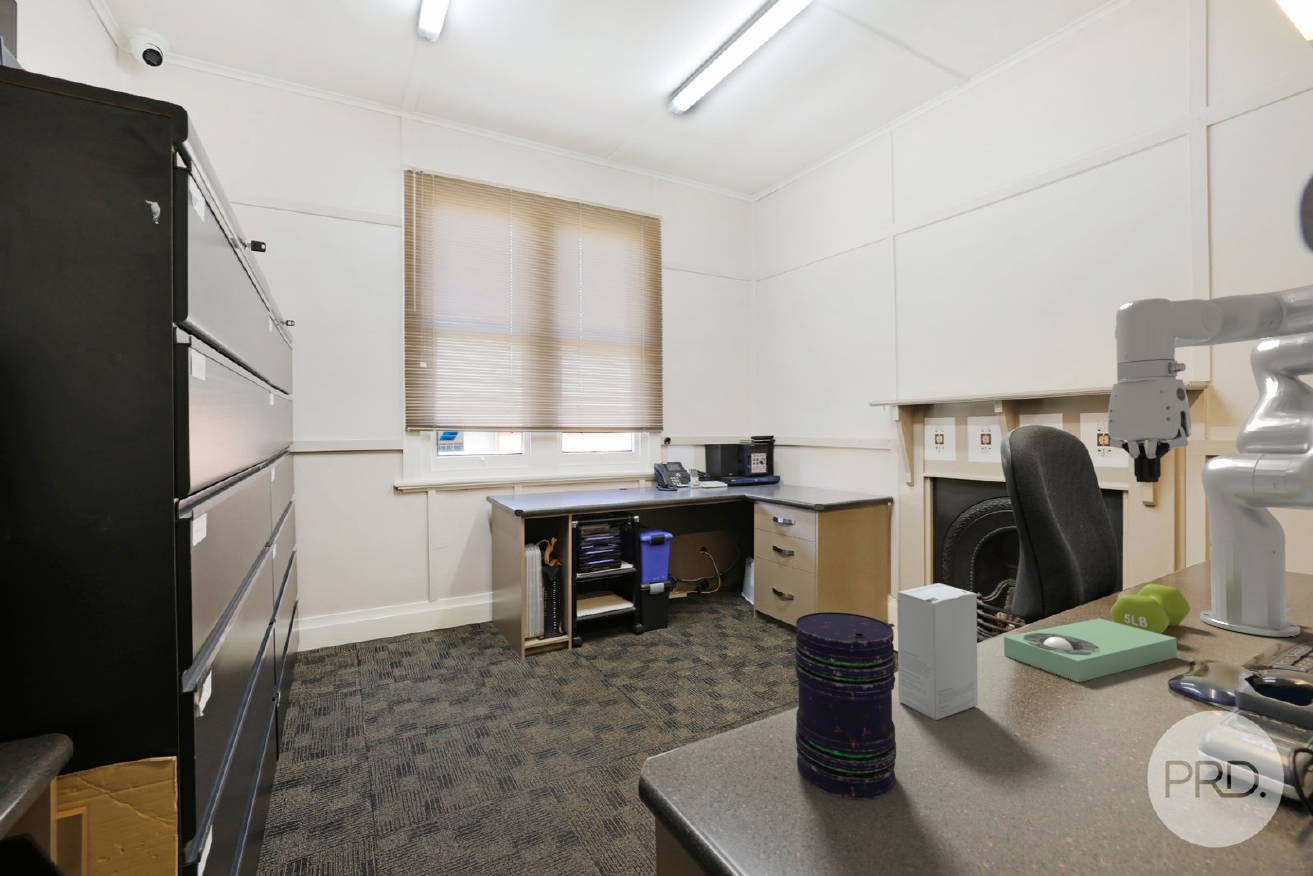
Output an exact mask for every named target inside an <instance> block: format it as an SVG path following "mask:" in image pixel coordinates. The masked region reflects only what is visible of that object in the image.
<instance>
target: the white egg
mask: <svg viewBox="0 0 1313 876" xmlns="http://www.w3.org/2000/svg"><path fill="white" fill-rule="evenodd" d="M1043 644H1044V645H1047V646H1050V647H1053V648H1059V649H1064V650H1073V647H1072V646H1071V644H1070V643H1069V642H1068V641H1066V640H1065V639H1063V638H1060V637H1051V638H1048V639H1046V640H1045V641H1044V643H1043Z"/></svg>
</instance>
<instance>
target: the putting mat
mask: <svg viewBox="0 0 1313 876" xmlns="http://www.w3.org/2000/svg"><path fill="white" fill-rule="evenodd" d="M1051 637H1060V638H1063V639H1065V640H1066V641H1068V642H1069V643H1070V644H1071V646H1072V647H1073V650H1064V649H1059V648H1053V647H1050V646H1047V645H1044V644H1043V643H1044V641H1045V640H1046V639H1048V638H1051ZM1003 640H1004V641H1003V645H1004V647H1003V649H1004V652H1003V653H1004V655H1005V656H1004V657H1006V658H1009V657H1010V658H1011V659H1013V660H1015V659H1016V661H1018V662H1021V663H1023V664H1026V665H1029V664H1030V665H1029V666H1032V667H1034V668H1038V669H1040V668H1041V669H1040V670H1043V671H1046V672H1049V673H1051V674H1054V675H1056V674H1057V675H1056V676H1059V675H1060V677H1063V678H1065V679H1068V678H1069V679H1068V680H1070V679H1071V681H1074V682H1076V683H1082V682H1086V681H1089V680H1092V679H1097V678H1098V679H1099V678H1100V677H1105V676H1110V675H1113V674H1117V673H1120V672H1124V671H1129V670H1133V669H1136V668H1140V667H1143V666H1144V667H1145V666H1147V665H1152V664H1157V663H1160V662H1163V661H1168V660H1172V659H1176V658H1177V657H1178V649H1177V648H1178V645H1177V643H1178V642H1177V640H1178V639H1177V637H1174V636H1171V635H1166V634H1163V633H1162V634H1158V633H1154V632H1150V631H1146V630H1143V629H1139V628H1135V627H1131V626H1127V625H1123V624H1119V623H1115V622H1114V621H1111V620H1107V619H1103V618H1095V619H1090V620H1085V621H1080V622H1079V621H1078V622H1074V623H1068V624H1064V625H1058V626H1054V627H1048V628H1042V629H1038V630H1032V631H1027V632H1022V633H1016V634H1011V635H1007V636H1004V637H1003ZM1010 658H1009V659H1010Z"/></svg>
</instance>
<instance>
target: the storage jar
mask: <svg viewBox="0 0 1313 876" xmlns="http://www.w3.org/2000/svg"><path fill="white" fill-rule="evenodd" d="M795 632H796V635H795V647H794V658H795V666H794V668H795V675H796V677H797V679H798V708H797V710H796V726H795V743H796V753H797V757H796V766H797V770H798V772H799V774H800V776H801V777H802V778H803V780H804V781H806V783H808V784H809V785H810V786H812V787H813V788H815V789H817V790H818V791H822V792H823V793H826V794H828V795H831V796H834V797H837V798H840V799H841V798H842V799H846V800H856V801H860V800H861V801H867V800H874V799H880V798H881V797H884V796H886V795H887V794H890V793H891V792H892V791H893V789H894V787H895V785H896V772H895V769H896V767H895V766H896V759H897V741H896V726H895V723H894V721H893V690H894V688H895V682H896V675H895V670H896V660H895V659H896V657H895V654H894V653H895V652H894V651H895V647H894V646H895V645H894V643H893V642H894V638H895V637H894V636H895V635H894V629H893V627H892V626H891V625H889V624H888V623H887V622H885V621H882V620H880V619H877V618H874V617H870V616H868V615H867V616H866V615H862V614H857V613H851V612H850V613H848V612H839V611H838V612H836V611H825V612H824V611H822V612H813V613H807V614H804V615H802V616H800V617H798V618H797V619H796V621H795Z"/></svg>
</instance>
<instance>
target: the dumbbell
mask: <svg viewBox="0 0 1313 876" xmlns="http://www.w3.org/2000/svg"><path fill="white" fill-rule="evenodd" d="M1190 612H1191V607H1190V605H1189V603H1188V601H1187V600H1186V598H1185V597H1184V596H1183V594H1182V593H1181V592H1180V590H1179V589H1178V588H1176V587H1173V586H1169V585H1164V584H1157V583H1148V584H1146V585H1144V586H1143V587H1142V588H1141V589H1140V590H1139V592H1138V593H1137V594H1123V595H1122V596H1121V597H1119V598H1117V600H1116V602H1114V604H1113V605H1112V607H1111V609H1110V612H1109V615H1110V617H1111V618H1112V620H1113V622H1115V623H1119V624H1123V625H1127V626H1131V627H1135V628H1139V629H1143V630H1146V631H1150V632H1154V633H1158V634H1162V635H1163V633H1164V631H1166V629H1168V627H1177V626H1178V625H1179V624H1180V623H1182V622H1183V621H1184V619H1185V618H1186V617H1187V616H1188V615H1189V613H1190Z"/></svg>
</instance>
